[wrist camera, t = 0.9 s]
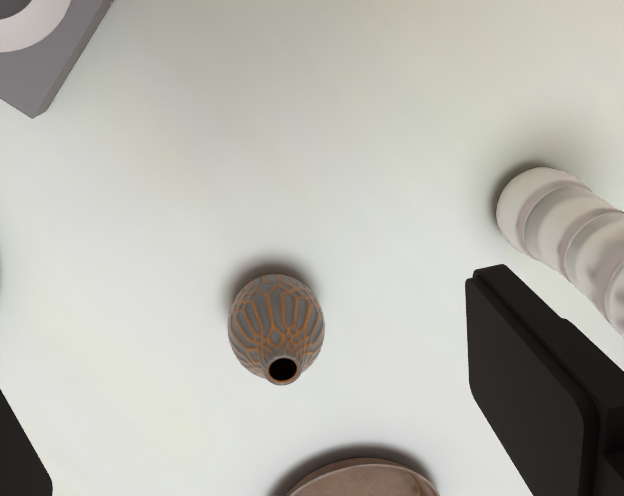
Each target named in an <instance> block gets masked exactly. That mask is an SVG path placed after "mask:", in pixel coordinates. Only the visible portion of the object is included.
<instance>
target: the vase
mask: <svg viewBox="0 0 624 496" xmlns="http://www.w3.org/2000/svg"><path fill="white" fill-rule="evenodd" d="M324 332H325V323H324V317H323V313H322V309H321V307H320V304H319V302H318V300H317V298H316V297H315V295H314V294H313V293H312V291H311V290H310V289H309V288H308V287H307V286H306V285H304V284H303V283H302V282H300V281H299V280H297V279H295V278H293V277H290V276H287V275H282V274H269V275H264V276H261V277H258V278H256V279H254V280H252V281H251V282H249V283H248V284H247V285H245V286H244V287H243V288H242V289H241V290H240V292H239V293H238V294H237V296H236V297H235V299H234V301H233V303H232V306H231V308H230V312H229V317H228V337H229V341H230V344H231V347H232V349H233V352H234V354H235V355H236V357H237V359H238V360H239V361H240V363H241V364H242V365H243V366H244V367H245V368H246V369H247V370H248V371H250V372H251V373H253V374H255V375H256V376H259V377H261V378H264V379H267V380H268V381H269V382H271V383H273V384H275V385H287V384H290V383H292V382H294V381H295V380H296V379H297V378H298V377H299V376H300V374H301V373H302V372H303V371H305V370H306V369H307V368H308V367H309V366H310V365H311V364H312V363H313V362H314V361H315V359H316V358H317V356H318V354H319V352H320V350H321V347H322V344H323V339H324Z"/></svg>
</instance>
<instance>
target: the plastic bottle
mask: <svg viewBox="0 0 624 496" xmlns="http://www.w3.org/2000/svg"><path fill="white" fill-rule="evenodd" d="M496 220H497V224H498V227H499V229H500V231H501V232H502V234H503V235H504V237H505V238H506V240H507V241H508V242H509V243H510V244H511V246H512V247H514V248H515V249H517V250H518V251H520V252H522V253H523V254H525V255H527V256H529V257H531V258H534V259H536V260H539V261H541V262H542V263H544V264H545V265H547V266H549V267H550V268H552V269H553V270H555V271H556V272H558V273H560V274H561V275H563V276H564V277H565V278H566V279H567V280H568V281H569V282H571V283H572V284H573V285H574V286H575V287H576V288H577V289H578V290H579V291H580V292H581V293H582V294H584V295H585V296H586V297H587V298H588V299H589V300H590V301H591V302H592V304H593V305H594V306H595V307H596V308H597V309H598V311H599V312H600V313H601V314H602V315H603V316H604V317H605V319H606V320H607V321H608V322H609V323H610V324H611V326H612V327H613V328H614V329H615V330H616V331H617V332H618V333H619V334H620V335H621V336H622V337H623V338H624V212H622V211H620V210H618V209H616V208H615V207H613V206H612V205H611V204H609V203H608V202H606V201H605V200H603V199H602V198H600V197H599V196H597V195H596V194H594V193H593V192H592V191H591V190H590V189H589V188H588V187H587V186H586V185H585V184H584V183H582V182H581V181H580V180H578V179H577V178H576V177H574V176H573V175H572V174H570V173H567V172H565V171H561V170H556V169H551V168H546V167H538V168H533V169H530V170H527V171H525V172H523V173H521V174H519V175H518V176H516V177H515V178H514V179H512V180H511V181H510V182H509V183H508V184H507V185H506V187H505V188H504V189H503V191H502V193H501V195H500V197H499V200H498V203H497V209H496Z"/></svg>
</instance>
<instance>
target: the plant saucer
mask: <svg viewBox="0 0 624 496" xmlns="http://www.w3.org/2000/svg"><path fill="white" fill-rule="evenodd" d="M285 496H440V495H439V493H438V491H437V490H436V488H435V487H434V486H433V485H432V484H431V482H429V481H428V480H427V479H426V478H424V477H423V476H422V475H420V474H419V473H417V472H415V471H414V470H412V469H410V468H408V467H406V466H403V465H401V464H398V463H395V462H392V461H388V460H383V459H377V458H352V459H346V460H341V461H337V462H334V463H331V464H328V465H326V466H323V467H321V468H319V469H317V470H315V471H313V472H312V473H310V474H308V475H307V476H306V477H304V478H303V479H302V480H300V481H299V482H298V483H297V484H296V485H295V486H294V487H293V488H292V489H291V490H290V491H289V492H288V493H287V494H286V495H285Z"/></svg>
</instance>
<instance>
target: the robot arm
mask: <svg viewBox="0 0 624 496" xmlns="http://www.w3.org/2000/svg"><path fill="white" fill-rule="evenodd" d="M465 293H466V317H467V341H468V365H469V384H470V389H471V392H472V395H473V397H474V399H475V401H476V403H477V404H478V406H479V408H480V409H481V411H482V413H483V414H484V416H485V417H486V419H487V421H488V422H489V424H490V426H491V427H492V429H493V431H494V432H495V434H496V435H497V437H498V439H499V440H500V442H501V444H502V445H503V447H504V449H505V450H506V452H507V453H508V455H509V457H510V458H511V460H512V462H513V463H514V465H515V467H516V468H517V470H518V471H519V473H520V475H521V476H522V478H523V480H524V481H525V483H526V485H527V486H528V488H529V489H530V491H531V493H532V494H533V496H624V371H622V370H621V369H620V368H619V367H618V366H617V365H616V364H615V363H614V362H613V361H612V360H611V359H610V358H609V357H608V356H606V355H605V354H604V353H603V352H602V351H601V350H600V349H599V348H598V347H597V346H596V345H595V344H594V343H593V342H592V341H590V340H589V339H588V338H587V337H586V336H585V335H584V334H583V333H582V332H581V331H580V330H579V329H578V328H577V327H576V326H574V325H573V324H572V323H571V322H570V321H568V320H567V319H563V318H561V317H559V316H558V315H557V314H556V313H555V312H554V311H553V310H552V309H551V308H550V307H549V306H548V305H547V304H546V303H545V302H544V301H543V300H542V299H541V298H540V297H539V296H537V295H536V294H535V293H534V292H533V291H532V290H531V289H530V288H529V287H528V286H527V285H526V284H525V283H524V282H523V281H522V280H521V279H520V278H519V277H518V276H516V275H515V274H514V273H513V272H512V271H511V270H510V269H509V268H508V267H507V266H506V265H504V264H500V265H495V266H490V267H486V268H481V269H477V270H475V271H474V273H473V278H469V279H467V280H466V282H465ZM52 491H53V487H52V481H51V478H50V476H49V474H48V473H47V471H46V469H45V467H44V465H43V464H42V462H41V460H40V458H39V457H38V455H37V453H36V451H35V450H34V448H33V446H32V444H31V442H30V441H29V439H28V437H27V435H26V434H25V432H24V430H23V428H22V427H21V425H20V423H19V421H18V419H17V418H16V416H15V414H14V412H13V411H12V409H11V407H10V405H9V404H8V402H7V400H6V398H5V396H4V395H3V393H2V391H1V389H0V496H52Z"/></svg>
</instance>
